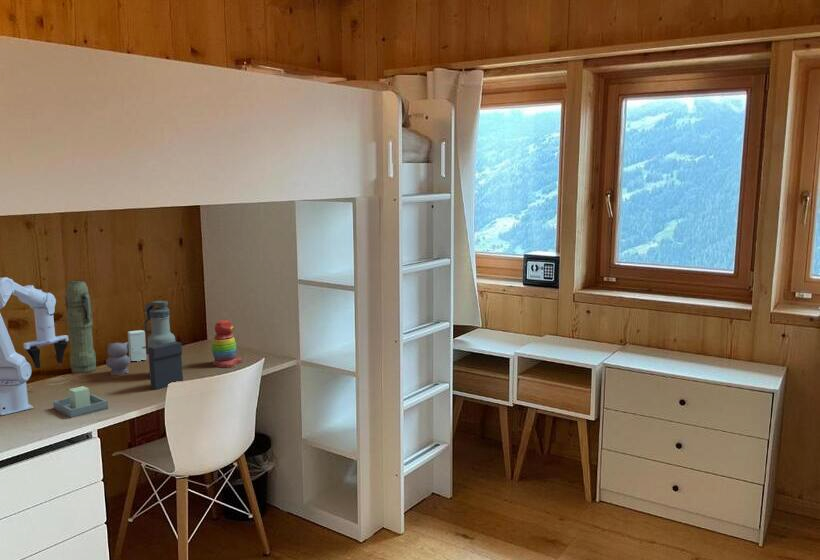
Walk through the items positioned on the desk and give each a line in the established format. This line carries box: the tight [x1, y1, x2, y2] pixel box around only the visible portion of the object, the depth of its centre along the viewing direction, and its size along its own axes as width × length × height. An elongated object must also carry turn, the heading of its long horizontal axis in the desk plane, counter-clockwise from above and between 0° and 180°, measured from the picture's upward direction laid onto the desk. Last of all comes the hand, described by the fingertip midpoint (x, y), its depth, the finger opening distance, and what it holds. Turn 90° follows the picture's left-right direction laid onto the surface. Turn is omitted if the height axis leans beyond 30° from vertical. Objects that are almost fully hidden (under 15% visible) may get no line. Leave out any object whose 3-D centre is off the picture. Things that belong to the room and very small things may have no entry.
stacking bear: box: [211, 318, 243, 369], centre depth 273 cm, size 11×10×18 cm
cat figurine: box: [105, 341, 131, 376], centre depth 262 cm, size 8×8×12 cm
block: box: [68, 385, 91, 409], centre depth 222 cm, size 4×4×6 cm
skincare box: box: [127, 329, 147, 362], centre depth 281 cm, size 6×4×12 cm
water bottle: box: [143, 300, 176, 369], centre depth 258 cm, size 10×10×28 cm
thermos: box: [64, 279, 97, 374], centre depth 265 cm, size 9×12×35 cm
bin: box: [52, 392, 109, 419], centre depth 222 cm, size 12×14×2 cm
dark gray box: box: [147, 340, 184, 390], centre depth 245 cm, size 11×4×15 cm, turn 141°
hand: (48, 365), depth 240 cm, fingers open, 7 cm apart
